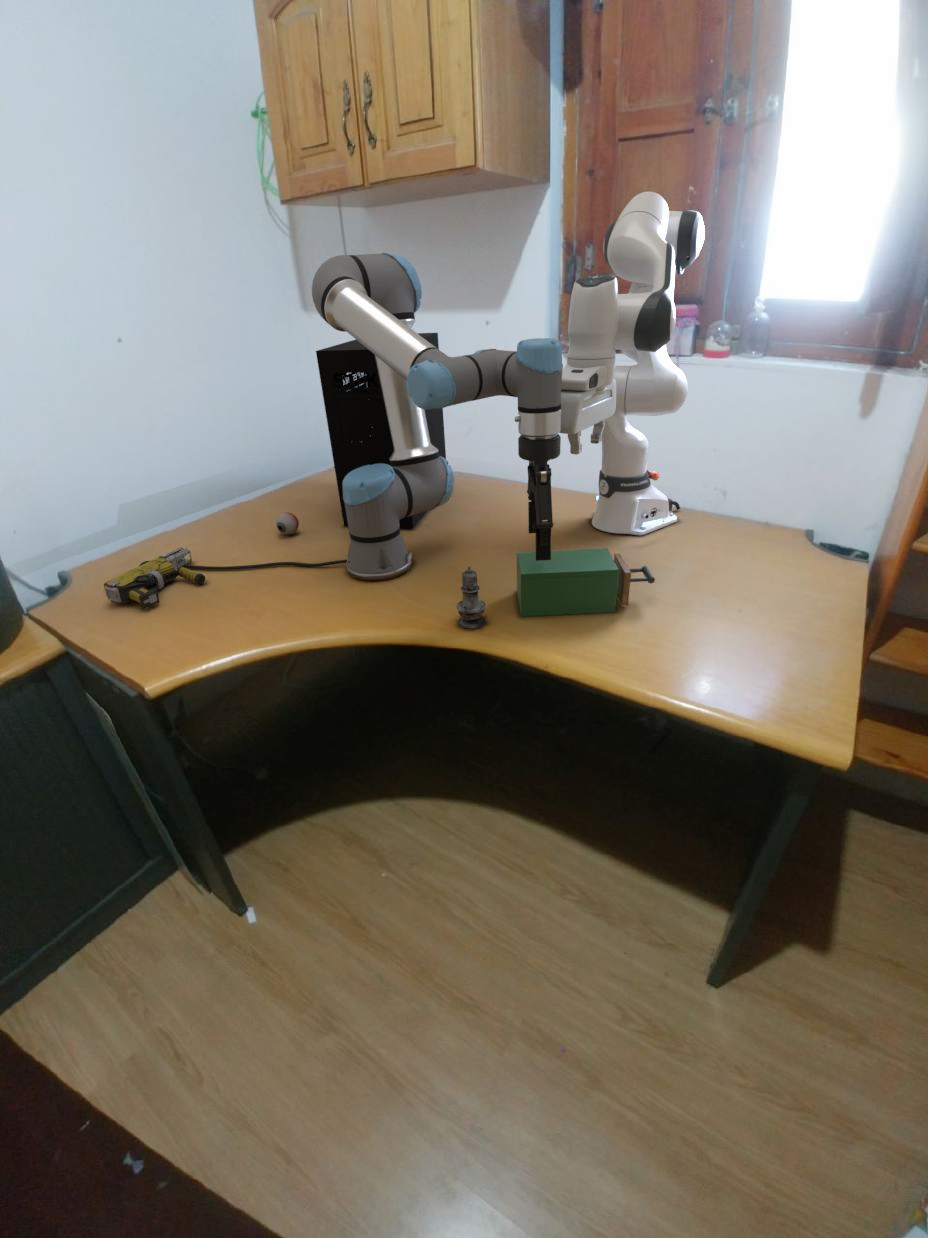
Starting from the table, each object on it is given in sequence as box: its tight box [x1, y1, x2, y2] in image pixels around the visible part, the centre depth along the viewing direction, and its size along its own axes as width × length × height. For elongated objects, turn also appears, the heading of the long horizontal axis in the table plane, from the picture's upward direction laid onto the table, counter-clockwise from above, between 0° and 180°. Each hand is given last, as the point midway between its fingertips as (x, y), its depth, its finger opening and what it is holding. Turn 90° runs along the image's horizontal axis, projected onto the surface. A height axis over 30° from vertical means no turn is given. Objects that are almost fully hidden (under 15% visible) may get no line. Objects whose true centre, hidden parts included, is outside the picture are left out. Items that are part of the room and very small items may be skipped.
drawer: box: [613, 552, 656, 607], centre depth 122 cm, size 23×9×7 cm, turn 90°
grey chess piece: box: [455, 565, 487, 629], centre depth 116 cm, size 6×6×12 cm
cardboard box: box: [315, 332, 447, 530], centre depth 170 cm, size 38×20×45 cm, turn 167°
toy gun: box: [103, 546, 206, 610], centre depth 139 cm, size 5×24×15 cm
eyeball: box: [275, 511, 300, 536], centre depth 163 cm, size 6×6×6 cm
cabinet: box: [516, 547, 619, 617], centre depth 122 cm, size 19×10×9 cm, turn 90°
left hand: (539, 545), depth 118 cm, fingers open, 13 cm apart
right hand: (586, 448), depth 120 cm, fingers open, 8 cm apart
